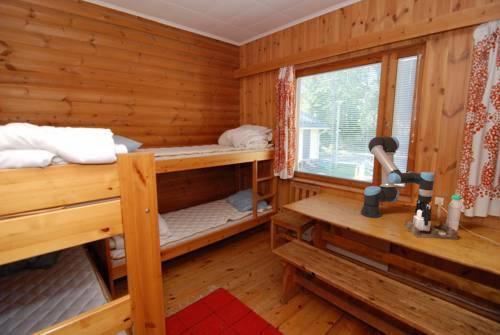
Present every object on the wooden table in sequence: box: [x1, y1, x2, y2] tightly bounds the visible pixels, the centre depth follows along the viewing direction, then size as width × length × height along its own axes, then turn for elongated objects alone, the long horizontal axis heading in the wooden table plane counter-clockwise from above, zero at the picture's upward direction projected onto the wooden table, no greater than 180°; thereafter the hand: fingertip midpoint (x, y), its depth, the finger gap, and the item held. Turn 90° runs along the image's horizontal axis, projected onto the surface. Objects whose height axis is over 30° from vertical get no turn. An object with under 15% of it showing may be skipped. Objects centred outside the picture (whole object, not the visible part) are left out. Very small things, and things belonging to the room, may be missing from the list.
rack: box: [403, 219, 459, 241], centre depth 164 cm, size 18×24×6 cm
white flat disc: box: [437, 229, 446, 236], centre depth 164 cm, size 8×8×1 cm
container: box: [412, 210, 432, 231], centre depth 164 cm, size 8×8×13 cm
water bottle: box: [445, 194, 462, 231], centre depth 168 cm, size 7×7×25 cm
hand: (421, 226), depth 165 cm, fingers closed on container, 8 cm apart
